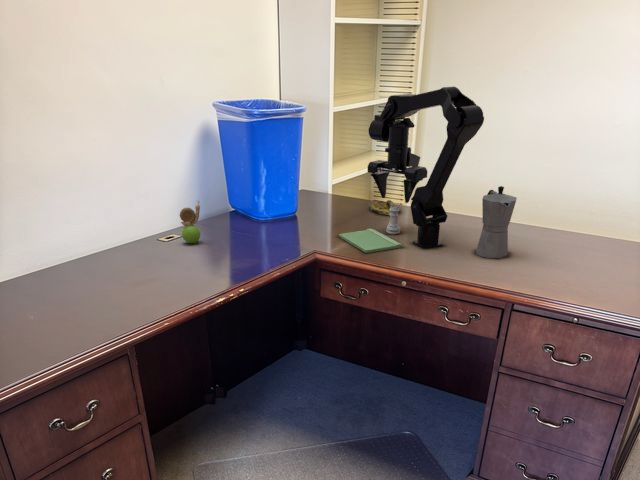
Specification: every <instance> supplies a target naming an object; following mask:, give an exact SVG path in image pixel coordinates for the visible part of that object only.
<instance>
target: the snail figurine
mask: <svg viewBox="0 0 640 480" xmlns="http://www.w3.org/2000/svg"><path fill="white" fill-rule="evenodd" d="M197 203H198V204H196V205H195V211H194V209H193V208H191V207H184V208H182V209H181V210H180V211H179V218H180V220H181V222H180V224H181V225H183V226H184V227H183V228H182V230H181V237H182V240H184V242H186V243H188V244H195V243H198V241H199V240H200V238H201V231H200V229H199V228H198V227H197V226H196V223H198V221H199V219H200V210H201V205H200V200H197Z"/></svg>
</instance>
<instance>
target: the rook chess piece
mask: <svg viewBox="0 0 640 480" xmlns="http://www.w3.org/2000/svg"><path fill="white" fill-rule="evenodd" d="M396 206H397V207H396ZM389 210H390V215H389V222H388V224H387V226H386V233H387V234H388V235H391V236H394V235H395V236H396V235H399V234H401V226H400V224H399V215H400V214H399V213H400V211H401V208H400V206H399V205H396V204H394V207H393V206H391V207H390V209H389ZM398 212H399V213H398Z"/></svg>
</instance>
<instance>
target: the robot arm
mask: <svg viewBox="0 0 640 480" xmlns="http://www.w3.org/2000/svg"><path fill="white" fill-rule="evenodd" d="M436 107H441V111H442V115H443V117H444V118H445V120H446V122H447V124H446V134H447V135H446V140H445V143H444V145H443V147H442V149H441V151H440V152H439V156H438V158H437V160H436V162H435V164H434V166H433V169H432V171H431V174H430V175H429V177H428V169H427V167H425V166H420V165H419V164H420V162H421V156H420V155H417V154H415V153H412V148H411V147H410V146H409V134H410V129H411V128H412V129H413V128H415V126H416V125H415V124H414V122H413V121H412V120H411V118H410V117H412V116H414V115H415V114H417V113H418V112H419V111H421V110H426V109H431V108H436ZM373 117H374V119H372V121H371V123H370V125H369V126H368V135H369V138H370V140H371V139H372V140H373V141H379V142H385V143H387V147H385V148H384V152H385V153H387V160H381V159H378V160H377V159H376V160H373V161H369V163H368V164H367V172H366V173H369V175H370V177H372V178H373V180H374V182H375V185H376V186H377V189H378V191H379V194H380V196H381V198H382V199H385V198H386V195H387V183H388V180H387V179H388V177H389V175H390V173H393V174H399V175H404V178H405V179H403V193H404V202H405V203H406V204H408V203H409V202H410V201H411V203H410V212H411V217H412V218H411V219H412V224H413V225H415V226H416V227H417V239H416V240H413V241H412V243H413V244H414V245H416V246H418V247H420V248H422V249H430V248H435V247H443V243H442V242H440V241H439V240H440V239H439V238H440V231H441V230H440V229H441V224H442V223H443V224H444V223H446V221H447V220H448V214H447V212H446V210H445V208H444V206H443V202H444V189H445V188H446V185H447V183H448V181H449V179H450V177H451V175H452V172H453V170H454V169H455V166H456V165H457V162H458V160H459V158H460V156H461V154H462V152H463V150H464V147H465V146H466V145H467V144H468V143H469V142H470V141H471V140H472V139H473V138H475V136H476V135H477V134H478V132H479V131H480V129H481V128H482V126H483V124H484V122H485V116H484V112H483V109H482V108H481V107H480V106H479V105H477V104H476V102H475V101H474V100H472V99H471V98H470V97H468V96H467V95H465V94H464V93H462V91H461V90H460V89H459V88H458V87H456V86H444V87H441V88H439V89H435V90H430V91H427V92H421V93H417V94H416V93H413V94H412V93H404V94H393V95H390V96H388V97H387V101H386V103H385V105H384V107H383V109H382V111H381V113H380V114H375V115H374V116H373ZM427 178H428V180H427V181H426V184H425V185H422V186H417V185H418V184H419V182H421V181H423V180H424V179H427ZM416 186H417V187H416ZM412 195H413V196H412Z"/></svg>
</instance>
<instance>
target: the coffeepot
mask: <svg viewBox="0 0 640 480" xmlns="http://www.w3.org/2000/svg"><path fill="white" fill-rule="evenodd" d="M504 189H505V186H503V185H500V186H498V187H497V191H495V190H494V189H490V190H489V191H487V194H485V195H483V197H482V198H481V199H482V206H481V207H482V229H481V233H480V236H479V239H478V243H477V247H476V250H475V254H476V255H477V256H479V257H481V258H487V259H502V258H505V257H507V256H508V253H509V237H508V236H509V231H508V230H509V225H510V222H511V219H512V216H513V213H514V210H515V206H516V202H517V200H518V199H517V198H518V197H517V196H513V195H510V194H506V193H504Z"/></svg>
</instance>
